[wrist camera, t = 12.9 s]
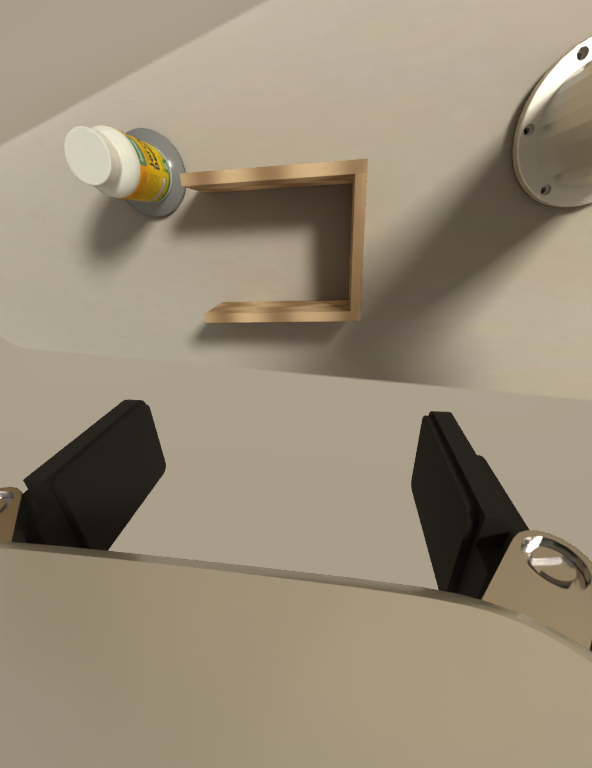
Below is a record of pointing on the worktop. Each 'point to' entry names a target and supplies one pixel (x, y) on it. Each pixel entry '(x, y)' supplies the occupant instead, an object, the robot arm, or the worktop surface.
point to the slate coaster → (177, 167)
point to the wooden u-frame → (283, 179)
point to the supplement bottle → (118, 164)
